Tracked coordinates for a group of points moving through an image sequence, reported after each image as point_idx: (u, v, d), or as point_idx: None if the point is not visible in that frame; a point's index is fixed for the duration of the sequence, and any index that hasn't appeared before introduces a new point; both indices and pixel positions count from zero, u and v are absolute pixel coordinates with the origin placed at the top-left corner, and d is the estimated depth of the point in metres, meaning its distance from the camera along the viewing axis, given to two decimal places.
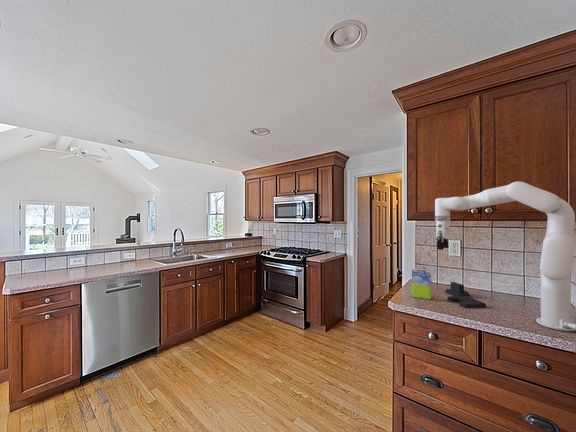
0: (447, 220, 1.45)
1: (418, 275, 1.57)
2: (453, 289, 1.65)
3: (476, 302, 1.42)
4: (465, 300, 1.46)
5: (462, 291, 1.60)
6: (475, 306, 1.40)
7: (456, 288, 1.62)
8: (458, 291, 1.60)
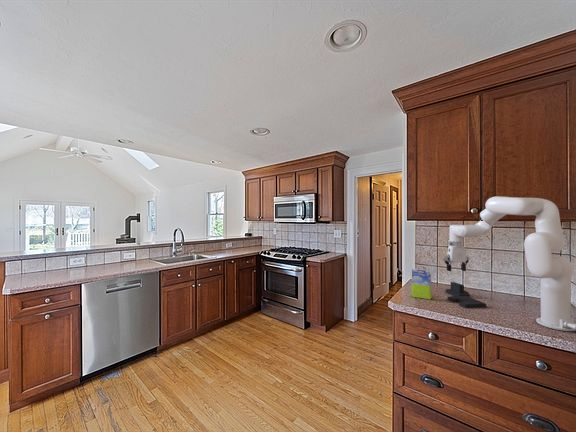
0: (456, 245, 1.60)
1: (418, 275, 1.57)
2: (453, 289, 1.65)
3: (476, 302, 1.42)
4: (465, 300, 1.46)
5: (462, 291, 1.60)
6: (475, 306, 1.40)
7: (456, 288, 1.62)
8: (458, 291, 1.60)
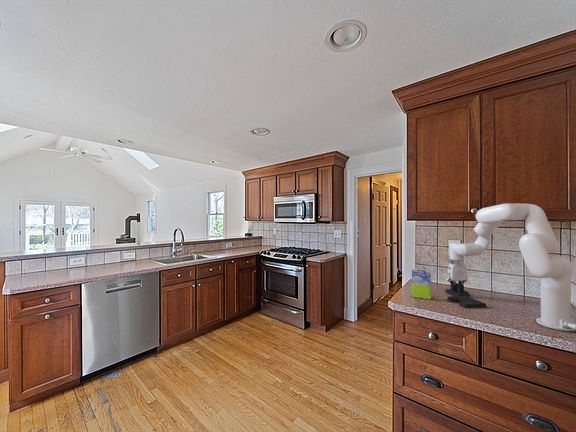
0: (457, 264, 1.60)
1: (418, 275, 1.57)
2: None
3: (476, 302, 1.42)
4: (465, 300, 1.46)
5: (462, 291, 1.60)
6: (475, 306, 1.40)
7: None
8: (458, 291, 1.60)
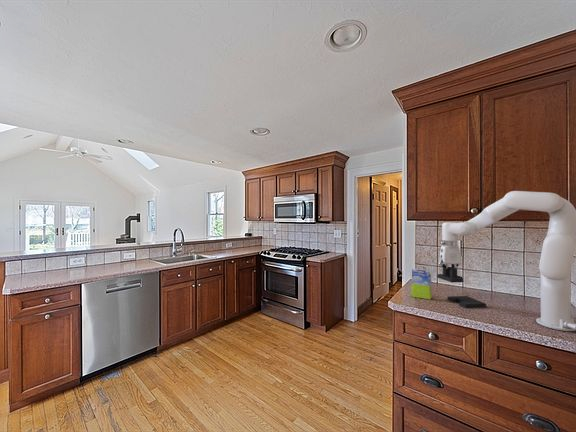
0: (449, 245, 1.44)
1: (418, 275, 1.57)
2: None
3: (476, 302, 1.42)
4: (465, 300, 1.46)
5: (455, 275, 1.43)
6: (475, 306, 1.40)
7: (449, 273, 1.45)
8: (451, 275, 1.44)
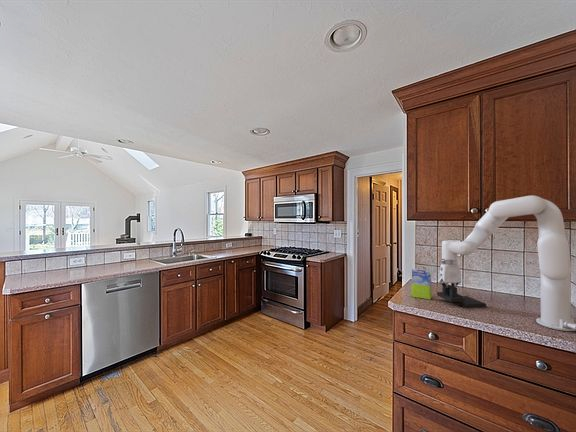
0: (449, 264, 1.43)
1: (418, 275, 1.57)
2: None
3: (476, 302, 1.42)
4: (465, 300, 1.46)
5: (455, 295, 1.43)
6: (475, 306, 1.40)
7: (449, 292, 1.45)
8: (451, 294, 1.43)
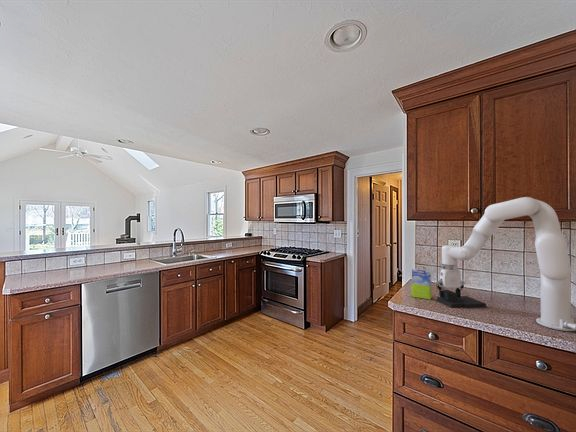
0: (449, 269, 1.43)
1: (418, 275, 1.57)
2: (445, 297, 1.48)
3: (476, 302, 1.42)
4: (465, 300, 1.46)
5: (455, 300, 1.43)
6: (475, 306, 1.40)
7: (449, 297, 1.45)
8: (451, 300, 1.43)
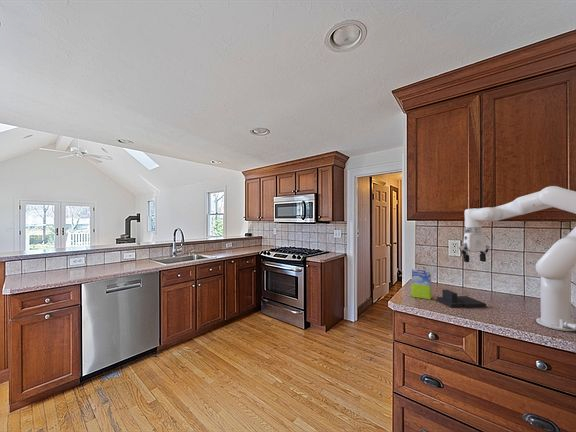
0: (474, 232, 1.39)
1: (418, 275, 1.57)
2: (445, 297, 1.48)
3: (476, 302, 1.42)
4: (465, 300, 1.46)
5: (455, 300, 1.43)
6: (475, 306, 1.40)
7: (449, 297, 1.45)
8: (451, 300, 1.43)
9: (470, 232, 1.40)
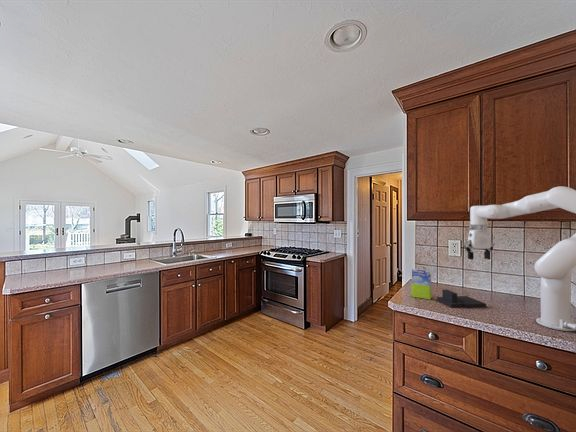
0: (479, 229, 1.38)
1: (418, 275, 1.57)
2: (445, 297, 1.48)
3: (476, 302, 1.42)
4: (465, 300, 1.46)
5: (455, 300, 1.43)
6: (475, 306, 1.40)
7: (449, 297, 1.45)
8: (451, 300, 1.43)
9: (475, 229, 1.40)
